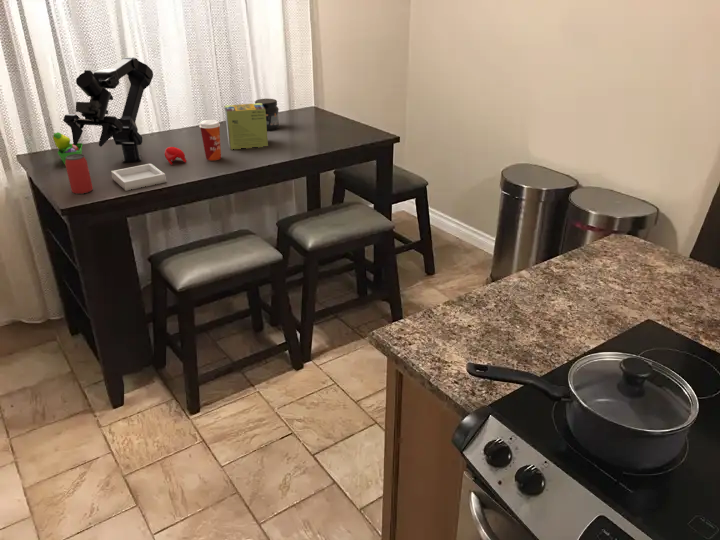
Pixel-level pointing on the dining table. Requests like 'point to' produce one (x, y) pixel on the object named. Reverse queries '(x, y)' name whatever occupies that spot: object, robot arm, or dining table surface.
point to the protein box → (246, 125)
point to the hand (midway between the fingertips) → (87, 145)
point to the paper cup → (211, 139)
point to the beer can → (78, 174)
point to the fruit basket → (66, 146)
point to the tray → (138, 176)
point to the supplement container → (270, 112)
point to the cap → (174, 154)
